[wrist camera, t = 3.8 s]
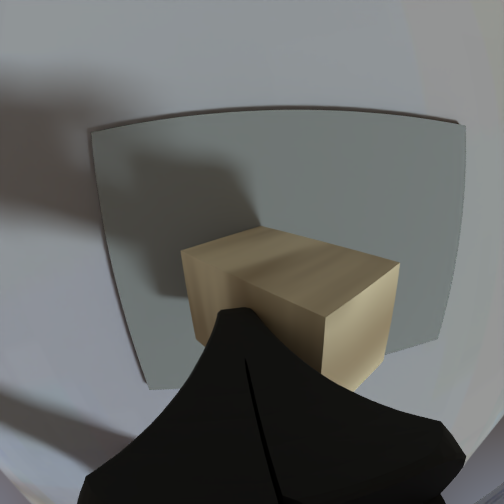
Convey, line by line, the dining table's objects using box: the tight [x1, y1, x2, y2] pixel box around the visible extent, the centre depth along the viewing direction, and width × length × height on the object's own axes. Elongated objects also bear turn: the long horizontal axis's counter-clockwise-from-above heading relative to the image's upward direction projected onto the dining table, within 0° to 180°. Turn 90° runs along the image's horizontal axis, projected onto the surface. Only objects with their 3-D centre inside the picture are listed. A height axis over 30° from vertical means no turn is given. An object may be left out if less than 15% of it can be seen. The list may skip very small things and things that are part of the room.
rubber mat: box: [91, 110, 466, 390], centre depth 15 cm, size 14×19×1 cm
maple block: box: [181, 226, 400, 392], centre depth 11 cm, size 4×4×6 cm
